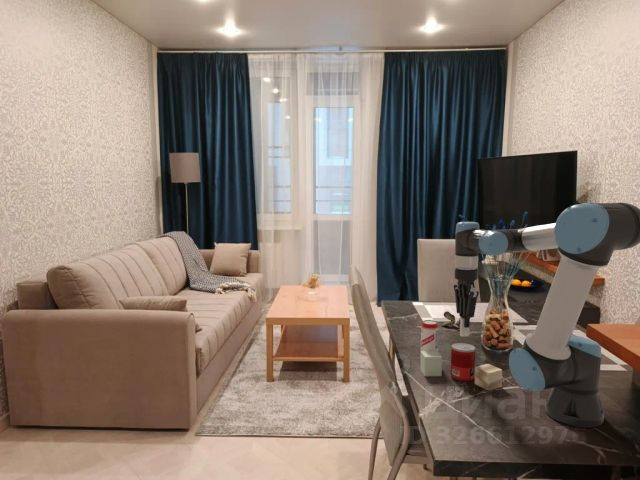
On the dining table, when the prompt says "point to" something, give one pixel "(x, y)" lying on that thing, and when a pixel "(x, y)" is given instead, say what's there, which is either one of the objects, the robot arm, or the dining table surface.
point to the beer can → (429, 336)
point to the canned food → (462, 362)
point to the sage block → (431, 363)
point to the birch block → (488, 377)
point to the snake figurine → (450, 317)
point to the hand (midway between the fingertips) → (464, 335)
